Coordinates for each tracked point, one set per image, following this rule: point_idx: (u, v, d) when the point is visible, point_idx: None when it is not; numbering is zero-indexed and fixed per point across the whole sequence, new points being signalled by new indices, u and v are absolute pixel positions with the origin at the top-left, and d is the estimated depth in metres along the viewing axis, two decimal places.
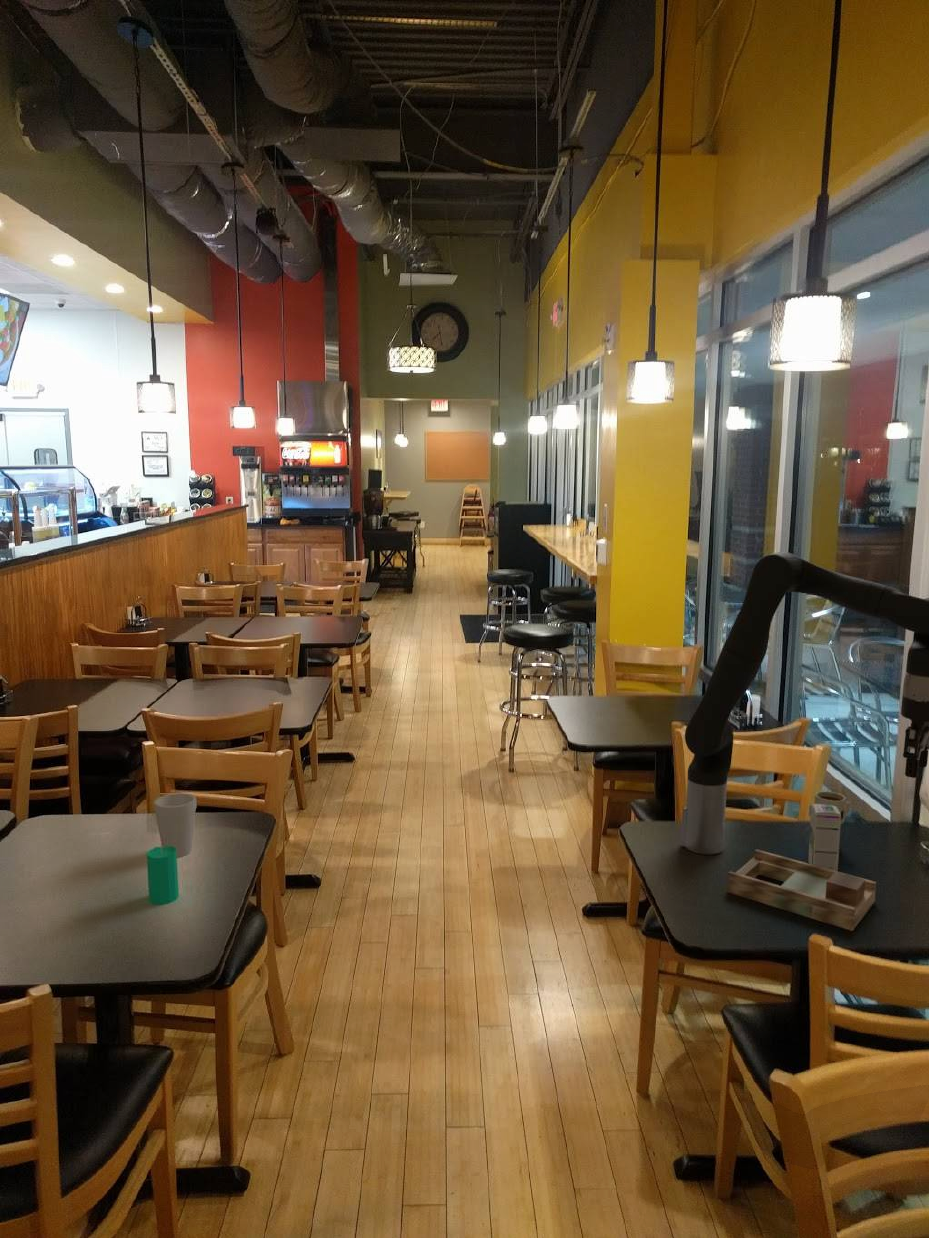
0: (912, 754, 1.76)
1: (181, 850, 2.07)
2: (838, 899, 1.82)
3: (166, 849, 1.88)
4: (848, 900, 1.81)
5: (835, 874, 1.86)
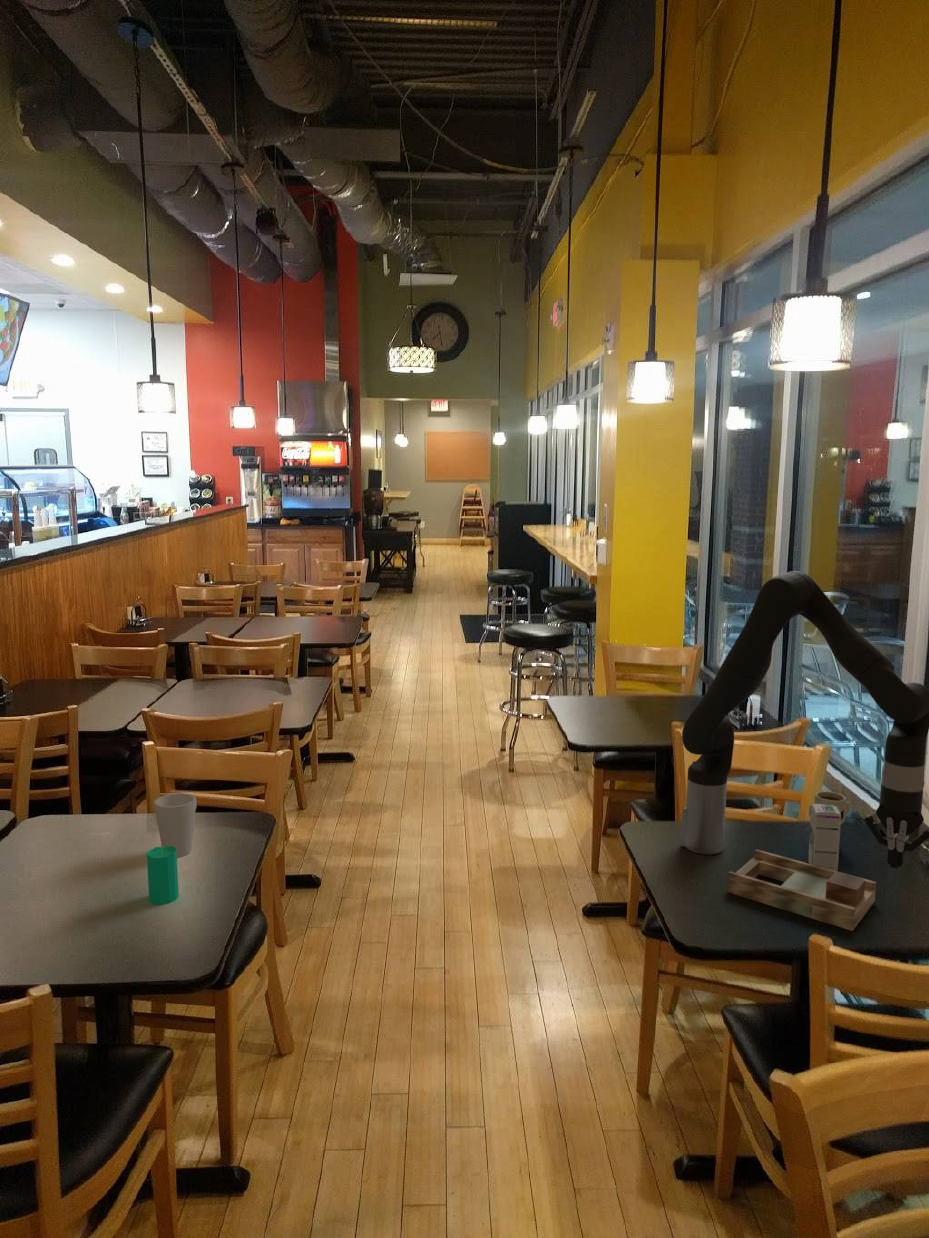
0: None
1: (181, 850, 2.07)
2: (838, 899, 1.82)
3: (166, 849, 1.88)
4: (848, 900, 1.81)
5: (835, 874, 1.86)
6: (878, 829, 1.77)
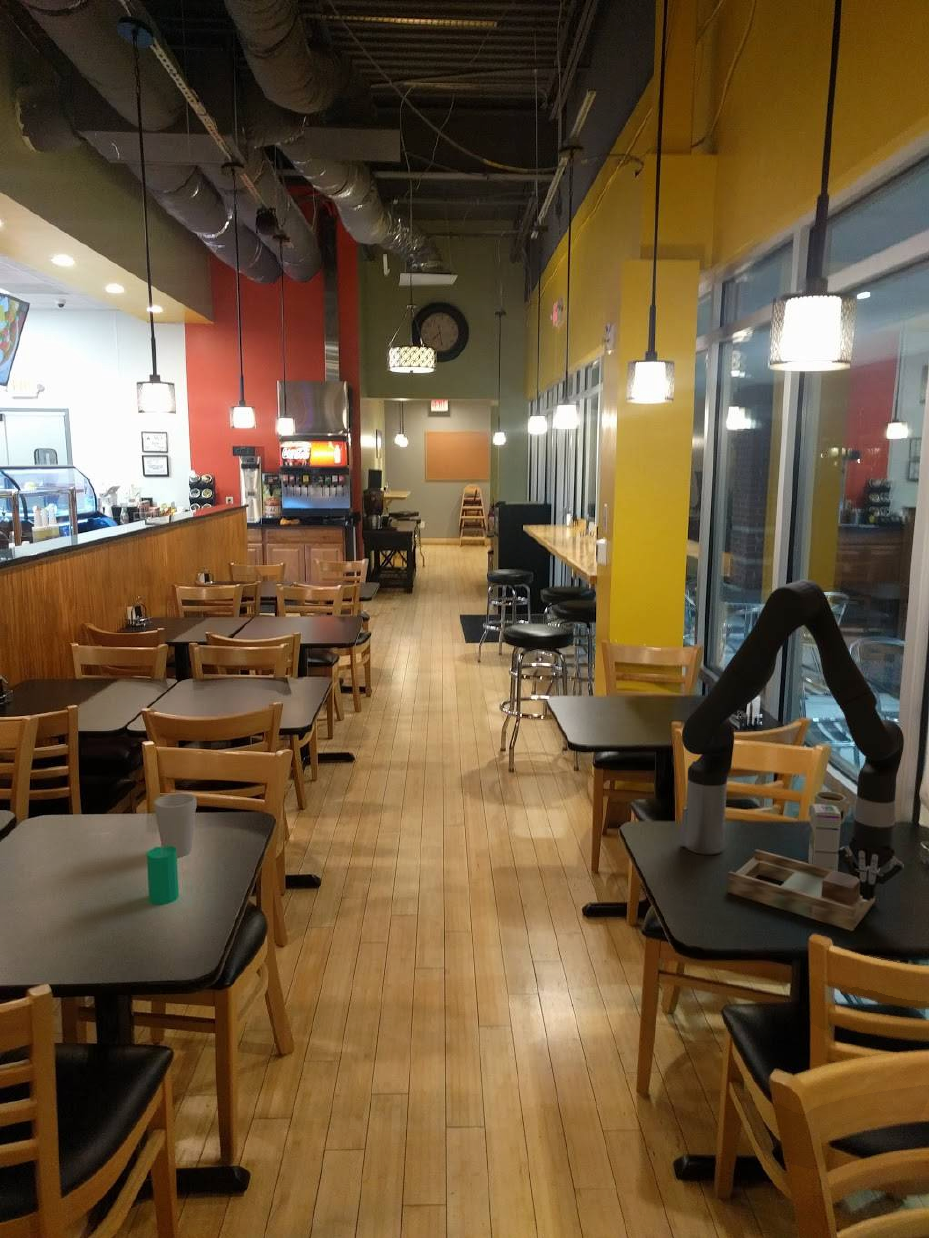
0: None
1: (181, 850, 2.07)
2: (834, 898, 1.82)
3: (166, 849, 1.88)
4: (844, 899, 1.81)
5: (831, 873, 1.87)
6: (851, 861, 1.82)
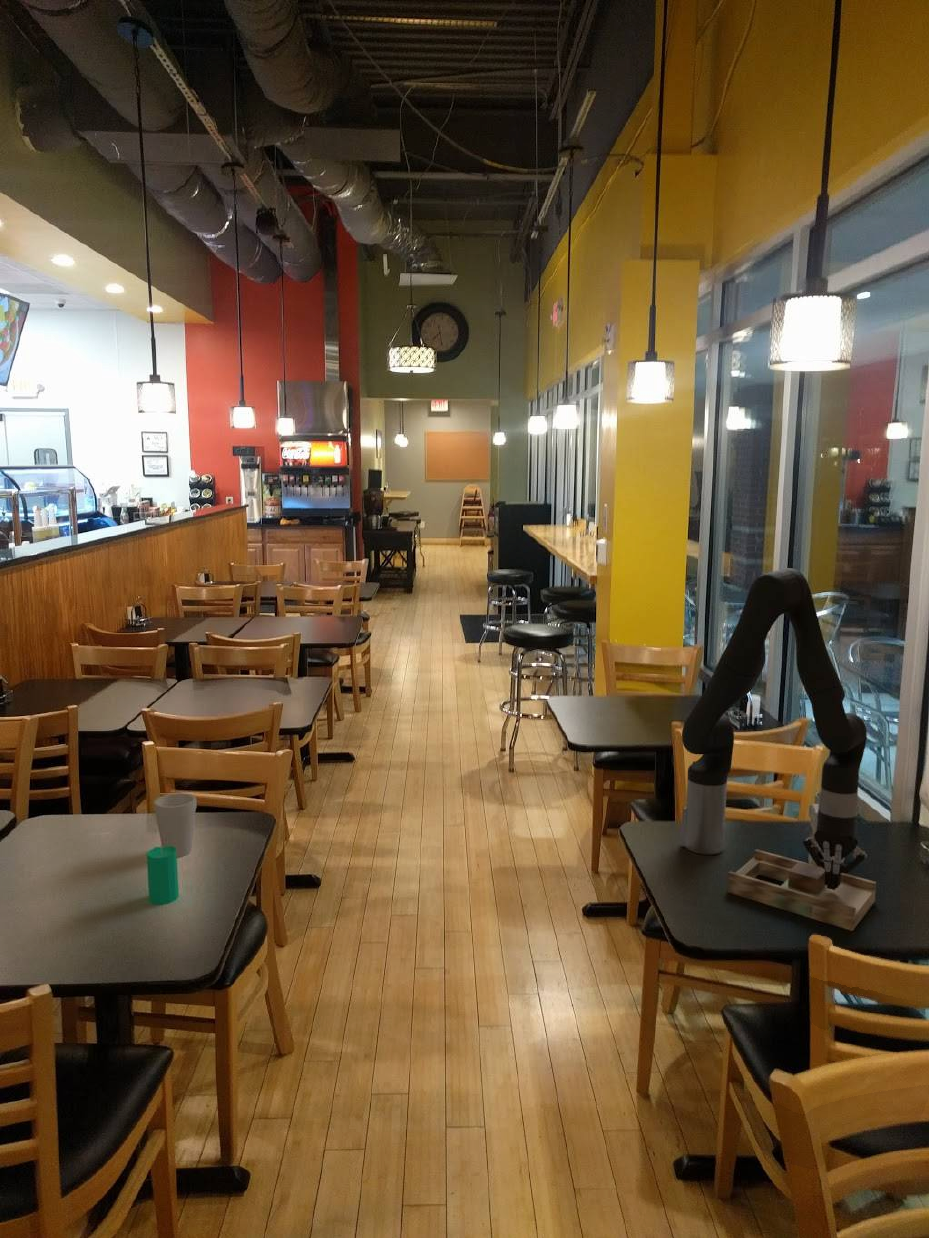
0: None
1: (181, 850, 2.07)
2: (800, 888, 1.87)
3: (166, 849, 1.88)
4: (809, 889, 1.85)
5: (798, 864, 1.91)
6: (816, 852, 1.86)
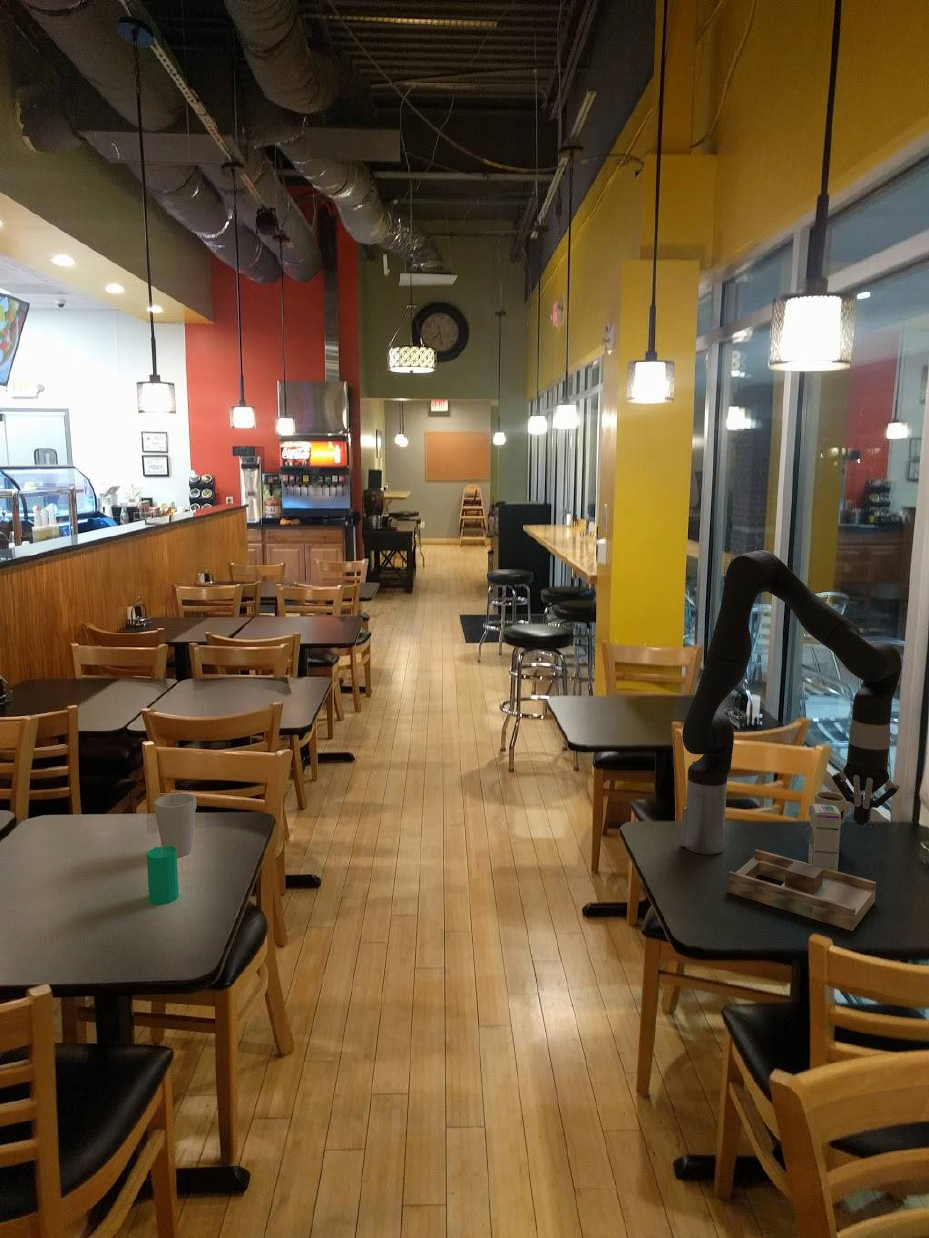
0: None
1: (181, 850, 2.07)
2: (796, 887, 1.87)
3: (166, 849, 1.88)
4: (806, 888, 1.86)
5: (794, 863, 1.91)
6: (845, 787, 1.81)
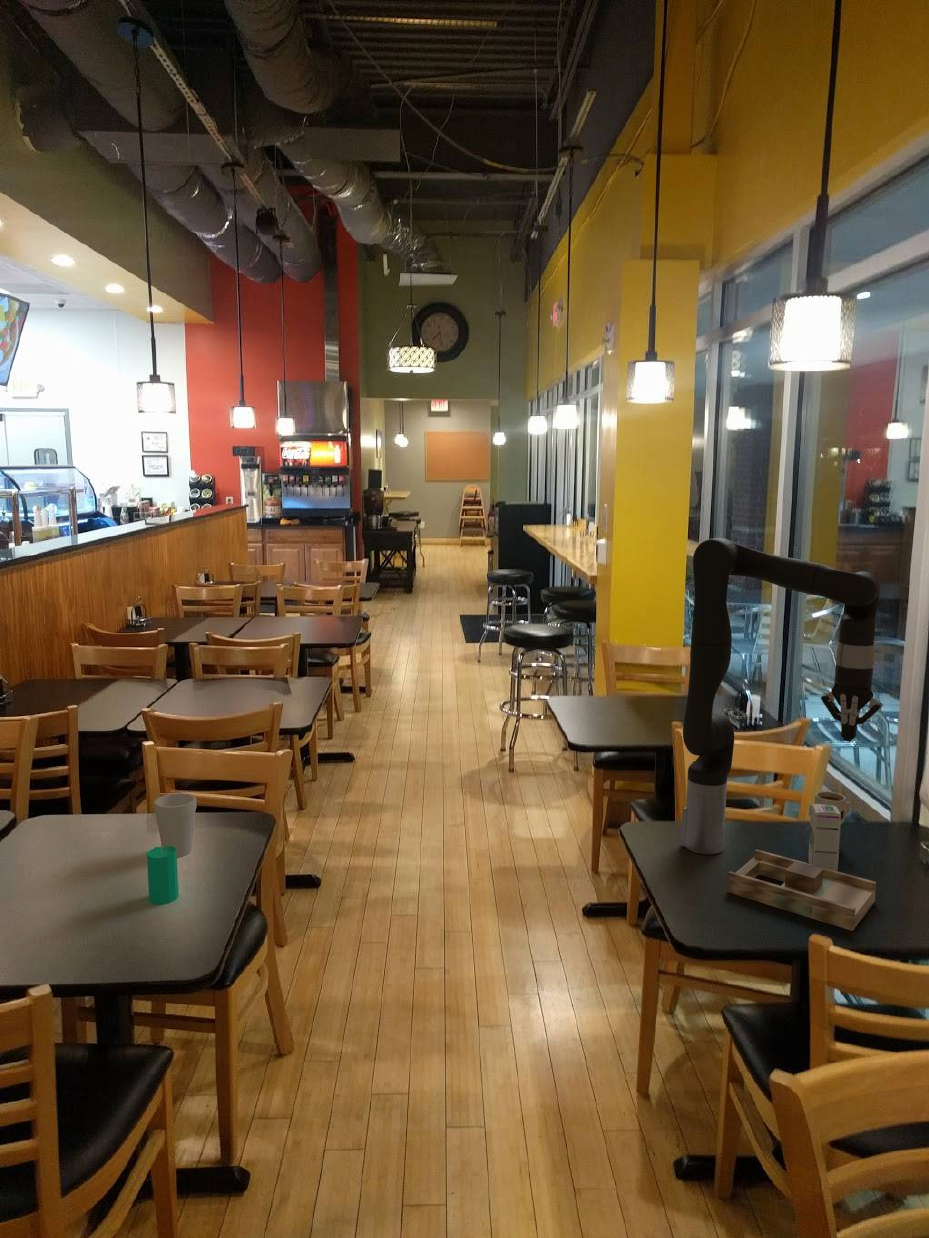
0: None
1: (181, 850, 2.07)
2: (796, 887, 1.87)
3: (166, 849, 1.88)
4: (806, 888, 1.86)
5: (794, 863, 1.91)
6: (833, 706, 1.96)
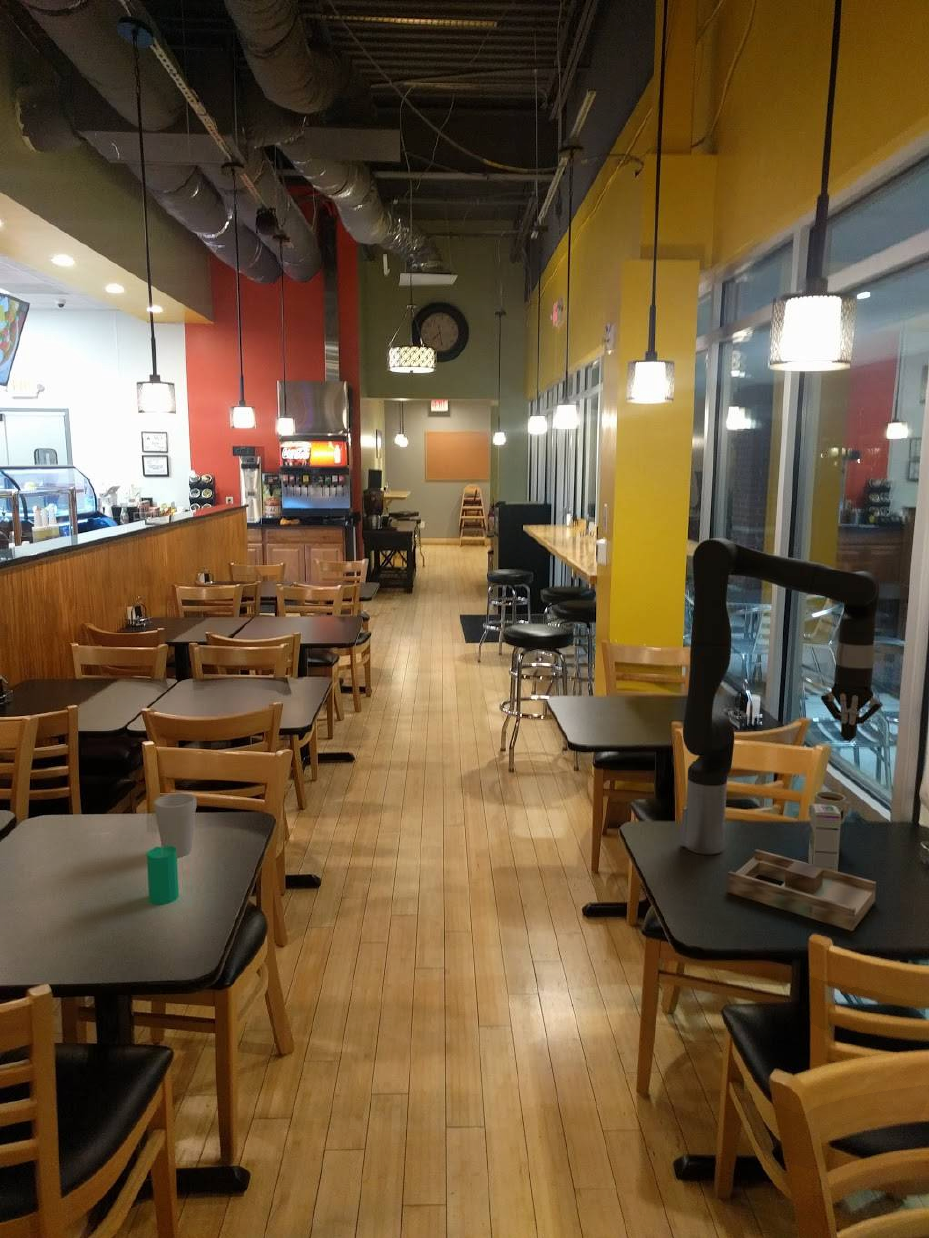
0: None
1: (181, 850, 2.07)
2: (796, 887, 1.87)
3: (166, 849, 1.88)
4: (806, 888, 1.86)
5: (794, 863, 1.91)
6: (833, 706, 1.96)
